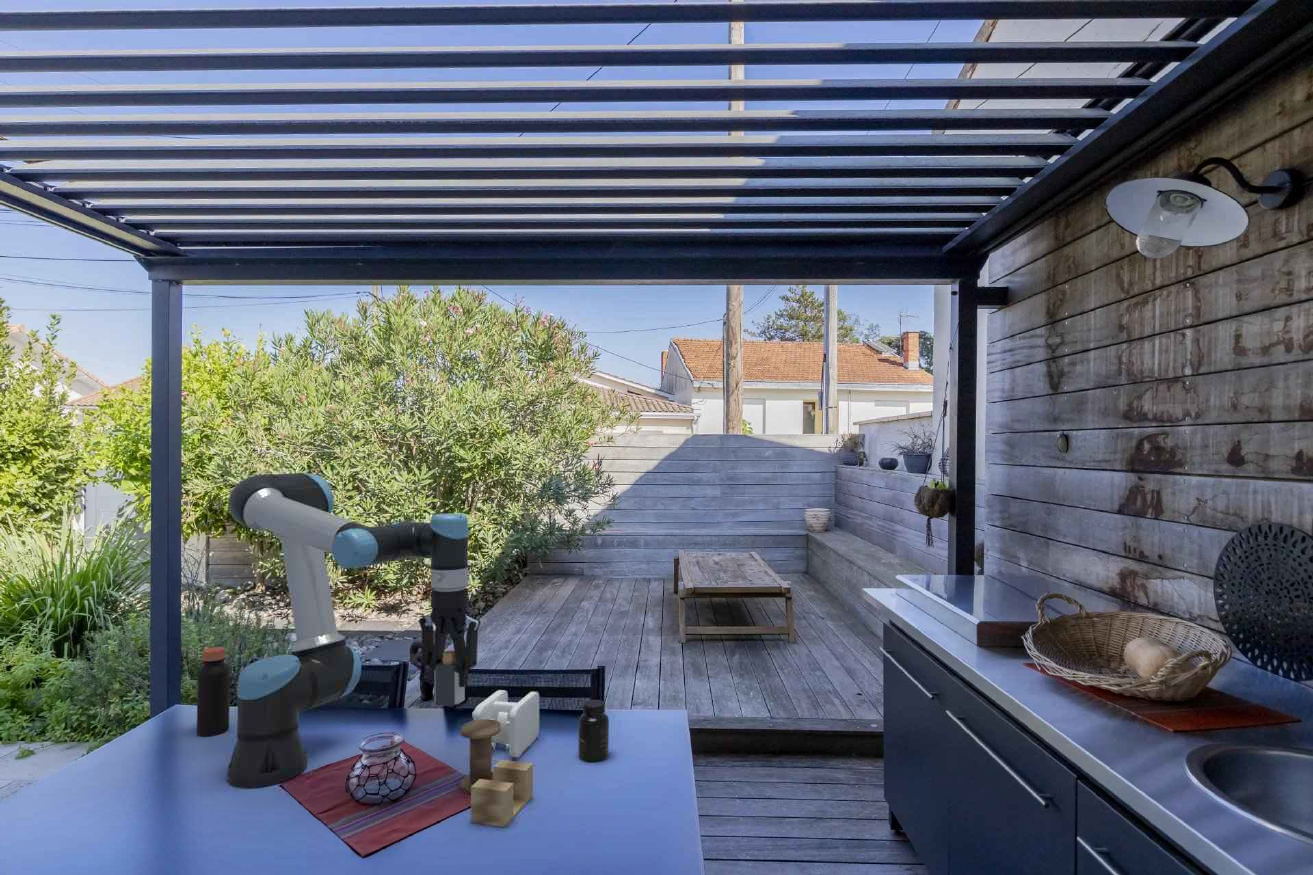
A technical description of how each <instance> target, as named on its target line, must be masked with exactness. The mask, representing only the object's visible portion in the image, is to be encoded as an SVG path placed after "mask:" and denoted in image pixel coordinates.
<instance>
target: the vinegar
mask: <svg viewBox="0 0 1313 875" xmlns="http://www.w3.org/2000/svg"><path fill="white" fill-rule="evenodd" d="M226 651H227V649H226V647H224V646H216V647H215V646H214V647H209V648H204V649H203V650H202V651H201V652H202V653H201V654H202V655H201V656H202V657H201V658H202V663H203V666H202V667H201V668H199V670H198V671H197V681H196V682H197V686H196V687H197V690H196V691H197V693H196V694H197V695H196V696H197V697H196V698H197V700H196V702H197V703H196V734H197V735H198V736H199V737H212V736H218V735H222V734H224V733H225V732H227V731H228V730H229V729H230V692H231V691H230V688H231V687H230V686H231V685H230V684H231V678H230V676H231V674H230V673H231V669H230V666H228V665H227V663H225V660H226Z"/></svg>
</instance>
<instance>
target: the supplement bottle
mask: <svg viewBox="0 0 1313 875" xmlns="http://www.w3.org/2000/svg"><path fill="white" fill-rule="evenodd" d="M582 707H583V709H582V712H583V713H582V714H581V715H580V716H579V719H578V745H577V746H578V749H577V750H578V753H577V754H578V757H579V759H580V760H582V761H584V762H587V763H598V762H602V761H604V760H606V759H608V758H607V757H608V756H609V742H610V738H609V737H610V736H609V735H610V733H609V732H610V719H609V715H607V713H605V711H606V705H605V702H604V701H603V700H601V699H589V700H586V701H584V702H583V706H582Z"/></svg>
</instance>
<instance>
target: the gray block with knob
mask: <svg viewBox="0 0 1313 875" xmlns="http://www.w3.org/2000/svg"><path fill="white" fill-rule="evenodd" d="M456 670H458V668H457V663H456V657H455V651H454V649H453V650H444V652H443V660H442V663H440V664H438V665H436V666H435V684H434V692H435V702H434V703H435V705H437V706H444V707H454V706H456V705H457V704H454V672H456Z"/></svg>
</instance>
